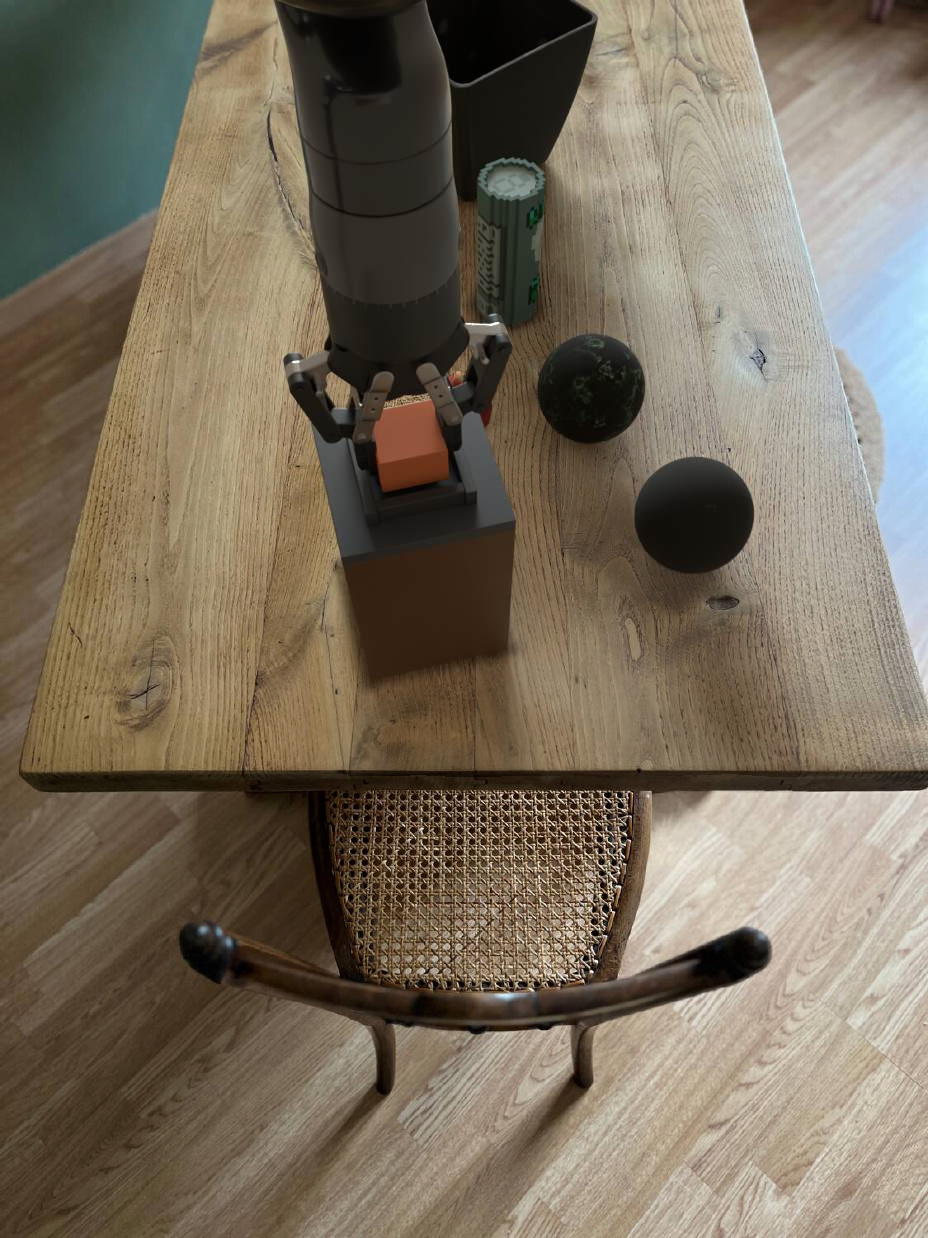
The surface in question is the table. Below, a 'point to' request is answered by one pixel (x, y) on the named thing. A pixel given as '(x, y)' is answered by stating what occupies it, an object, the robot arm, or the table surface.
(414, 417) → the block
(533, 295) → the can
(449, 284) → the robot arm
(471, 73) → the flower pot
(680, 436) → the table surface
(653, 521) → the black ball
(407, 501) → the brown holder box
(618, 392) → the decorative stone
